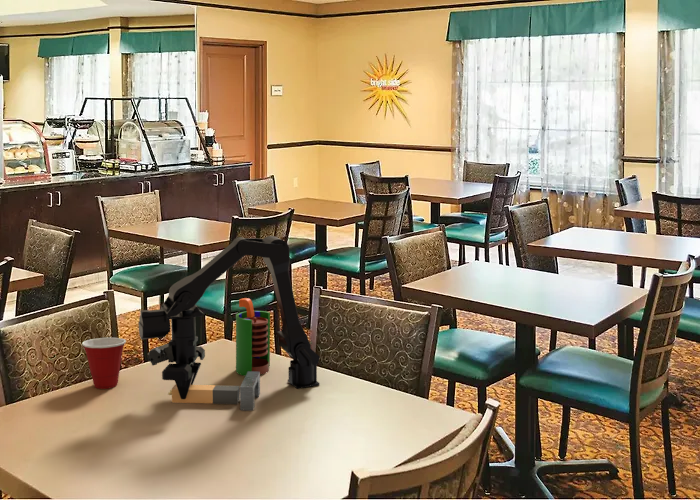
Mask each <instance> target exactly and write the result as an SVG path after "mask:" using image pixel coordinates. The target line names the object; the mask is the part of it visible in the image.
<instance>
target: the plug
mask: <svg viewBox="0 0 700 500" xmlns="http://www.w3.org/2000/svg"><path fill="white" fill-rule="evenodd" d="M240 386H241V385H221V384H220V385H213V384H212V385H210V384H193V385H190V388H189V391H188V394H187V397H186V399H181V397H180V394H179V391H178V388H177V385H176V383H175V384H174V385H173V387H172V388H171V389H170V391H169V392H168V393H167V395H169V396H171V403H176V404H179V403H181V404H182V403H183V404H212V405H213V404H214V405H215V404H218V405H219V404H220V405H221V404H222V405H223V404H224V405H238V404H239V402H240Z"/></svg>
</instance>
